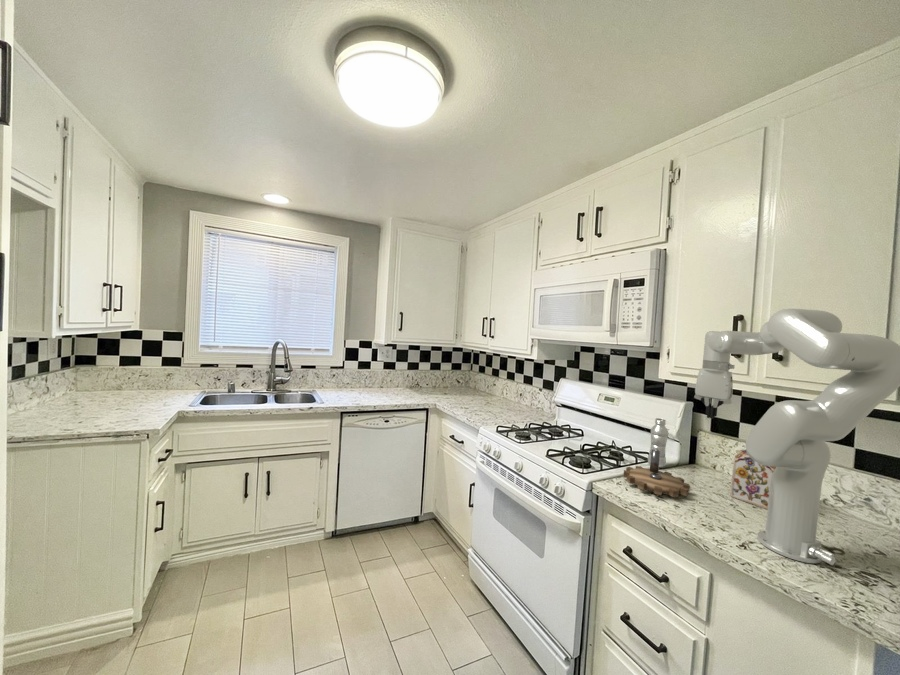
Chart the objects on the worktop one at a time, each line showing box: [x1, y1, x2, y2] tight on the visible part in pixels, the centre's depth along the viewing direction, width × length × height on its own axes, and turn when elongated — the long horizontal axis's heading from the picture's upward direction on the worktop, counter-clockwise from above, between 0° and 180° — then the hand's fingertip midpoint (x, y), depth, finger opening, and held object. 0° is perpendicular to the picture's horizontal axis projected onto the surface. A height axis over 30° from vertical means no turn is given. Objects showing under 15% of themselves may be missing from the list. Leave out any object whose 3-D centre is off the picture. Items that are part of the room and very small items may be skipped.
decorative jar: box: [729, 449, 776, 511], centre depth 123 cm, size 12×12×18 cm
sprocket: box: [623, 449, 691, 498], centre depth 128 cm, size 21×21×10 cm
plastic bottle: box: [647, 417, 669, 468], centre depth 149 cm, size 6×7×20 cm
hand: (710, 417), depth 125 cm, fingers closed
